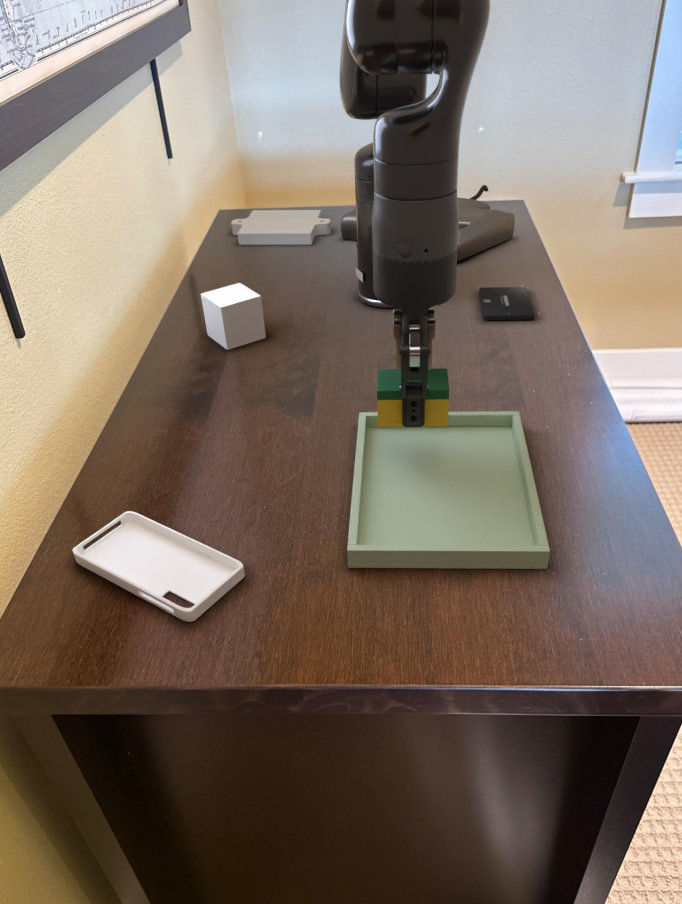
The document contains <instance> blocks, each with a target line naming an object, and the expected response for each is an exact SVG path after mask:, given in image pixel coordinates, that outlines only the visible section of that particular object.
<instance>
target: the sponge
mask: <svg viewBox="0 0 682 904" xmlns="http://www.w3.org/2000/svg"><path fill="white" fill-rule="evenodd" d="M407 382H421V383H422V381H407ZM449 383H450V382H449V373H448V368H447V367H446V368H445V367H444V368H443V367H442V368H441V367H439V368H431V369H430V370H428V384H427V385H428V388H429V394H427V398H425V423H424V425H423V426H448V412H450V411H449V409H450V384H449ZM400 386H401V372H400V371H399V370H397V368H378V369H377V383H376V412H377V420H378V426H403V425H402V398H401V394H399V389H400Z"/></svg>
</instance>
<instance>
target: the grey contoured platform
mask: <svg viewBox="0 0 682 904" xmlns="http://www.w3.org/2000/svg"><path fill="white" fill-rule="evenodd" d="M457 199H458V210H459V226H458V249H457V262H458V261H459V262H460V261H462V260H465V259H467V258H469V257H472V256H475V255H476V254H479V253H481V252H483V251H485V250H488V249H490V248H492V247H495V246H497V245H499V244H502V243H504V242H506V241H509V240H511V239H512V238H513V236H514V232H515V223H516V217H515V214H514V213H513V212H508V211H503V210H499V209H491V205H490V204H489V202H485V201H481V200H478V199H477V200H473V199H470V198H466V197H459V196H457ZM340 233H341V237H342V239H344V240H346V241H347V240H348V241H357V225H356V208H354V209H353V210H350V211H348V212H347V213H345V214H343V215H342V216H341V219H340Z"/></svg>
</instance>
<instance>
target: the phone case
mask: <svg viewBox="0 0 682 904" xmlns="http://www.w3.org/2000/svg"><path fill="white" fill-rule="evenodd" d="M118 522H120V525H118V526H117V527H115V528H113V529H112V530H111V531H109V532H108V533H106V534H105V535H103V536H102V537H100V538H99V539H98V540H97V541H95V542H94V543H92V544H91V545H89V546H87V548H84V546H86V545H87V544H88V543H90V542H91V541H92V540H94V539H96V538H97V537H99V535H101V534H103V533H104V532H106V531H108V529H110V528H111V527H113V526H114V525H115V524H117V523H118ZM71 551H72V554H73V557H74V559H75V562H76V563H77V564H78V565H79V566H81V567H83V568H84V569H86V570H88V571H90V572H92V573H94V574H96V575H98V576H99V577H101V578H103V579H105V580H107V581H109V582H111V583H112V584H114V585H116V586H117V587H120V588H122V589H124V590H125V591H127V592H129V593H131V594H133V595H135V596H137V597H138V598H140V599H142V600H144V601H146V602H147V603H150V604H151V605H154V606H155V607H158V608H159V609H161V610H163V611H164V612H167V613H168V614H170V615H172V616H174V617H176V618H178V619H180V620H182V621H184V622H188V623H192V622H195V621H196V620H197V619H198V618H200V617H201V616H202V615H203V614H204V613H205V612H206V611H207V610H209V609H210V608H211V607H212V606H213V605H215V604H216V603H217V602H218V601H219V600H220V599H221V598H222V597H224V596H225V595H226V594H227V593H228V592H229V591H230V590H232V588H234V587H235V586H236V585H237V584H238V583H239V582H241V581H243V579H244V578H245V576H246V575H245V567H244V564H243V563H242V562H241V561H240V560H238V559H237V558H234V557H232V556H230V555H228V554H226V553H224V552H222V551H219V550H217V549H215V548H214V547H212V546H211V547H210V546H209V545H207V544H204V543H202V542H200V541H198V540H196V539H193V538H192V537H189V536H188V535H185V534H183V533H182V532H179V531H176V530H175V529H173V528H170V527H168V526H166V525H164V524H162V523H160V522H157V521H155V520H153V519H151V518H149V517H147V516H145V515H142V514H140V513H138V512H135V511H132V510H129V511H128V510H127V511H124V512H123V513H121V514H120V515H119V516H118V517H116V518H114V519H113V520H112V521H110V522H109V523H107V524H106V525H104V526H103V527H101V528H100V529H98V530H97V531H96V532H95V533H92V534H91V535H89V536H88V537H87V538H86V539H84V540H83V541H81V542H80V543H78V544H77V545H76V546H74V547H73V548H72V549H71ZM168 593H171V594H173V595H175V596H176V597H179V598H181V599H183V600H185V601H186V602H188V603H190V604H192V606H190V607H184V606H181V605H178V604H176V603H175V602H173V601H171V600H169V599H167V598H165V596H166V595H167V594H168Z"/></svg>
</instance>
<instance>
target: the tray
mask: <svg viewBox="0 0 682 904" xmlns="http://www.w3.org/2000/svg"><path fill="white" fill-rule="evenodd" d="M522 423H523V422H522V418H521V415H520V411H519V410H509V411H508V410H506V411H505V410H504V411H503V410H501V411H498V410H497V411H496V410H495V411H494V410H492V411H491V410H490V411H448V426H422V427H404V426H378V420H377V411H368V412H367V411H366V412H365V411H363V412H361V411H360V412H359V413H358V421H357V433H356V444H355V455H354V458H355V459H354V466H353V478H352V479H353V480H352V489H351V490H352V491H351V501H350V511H349V512H350V514H349V524H348V535H347V546H346V548H347V549H346V555H347V556H346V557H347V568H348V569H463V570H464V569H471V570H476V569H478V570H480V569H483V570H485V569H488V570H493V569H494V570H495V569H496V570H501V569H502V570H503V569H504V570H547V569H548V568H549V567H548V566H549V561H550V555H551V549H550V546H549V540H548V536H547V531H546V527H545V522H544V518H543V514H542V509H541V504H540V499H539V494H538V491H537V486H536V482H535V478H534V477H535V476H534V473H533V468H532V464H531V458H530V455H529V450H528V445H527V442H526V436H525V432H524V428H523V424H522Z"/></svg>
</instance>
